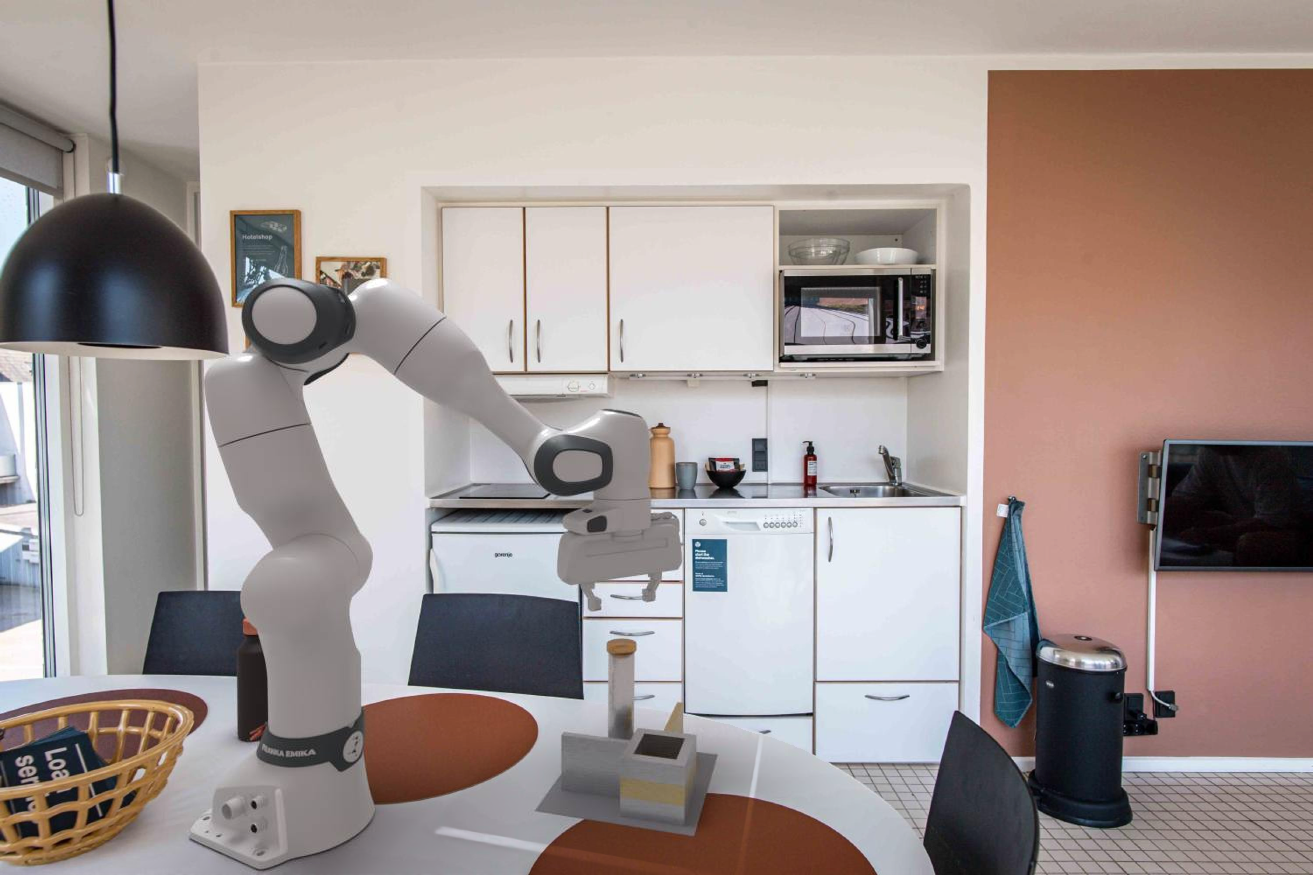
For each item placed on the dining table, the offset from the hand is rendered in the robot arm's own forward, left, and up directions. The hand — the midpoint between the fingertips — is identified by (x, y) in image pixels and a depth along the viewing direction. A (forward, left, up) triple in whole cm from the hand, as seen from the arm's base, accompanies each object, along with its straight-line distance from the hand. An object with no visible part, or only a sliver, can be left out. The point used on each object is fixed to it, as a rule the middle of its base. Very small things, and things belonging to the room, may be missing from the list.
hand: (622, 605), depth 99 cm
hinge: (+3, -3, -25) cm, 25 cm away
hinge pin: (0, 0, -25) cm, 25 cm away
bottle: (-64, -3, -26) cm, 69 cm away
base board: (+3, -4, -26) cm, 26 cm away
